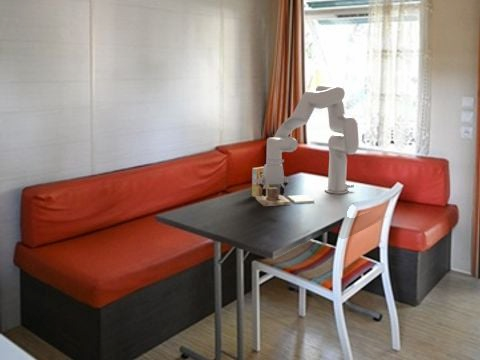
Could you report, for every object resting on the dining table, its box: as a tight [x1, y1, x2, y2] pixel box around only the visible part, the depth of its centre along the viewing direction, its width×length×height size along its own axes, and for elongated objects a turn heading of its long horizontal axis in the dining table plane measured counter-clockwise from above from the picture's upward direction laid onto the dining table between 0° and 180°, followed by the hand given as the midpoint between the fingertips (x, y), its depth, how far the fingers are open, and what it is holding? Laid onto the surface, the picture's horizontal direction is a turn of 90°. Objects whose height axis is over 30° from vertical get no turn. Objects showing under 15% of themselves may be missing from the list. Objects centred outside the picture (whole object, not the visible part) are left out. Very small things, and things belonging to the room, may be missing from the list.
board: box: [287, 194, 315, 205], centre depth 280 cm, size 10×12×1 cm
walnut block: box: [267, 186, 280, 201], centre depth 275 cm, size 4×4×7 cm
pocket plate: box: [255, 194, 292, 207], centre depth 276 cm, size 14×14×2 cm
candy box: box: [251, 166, 270, 198], centre depth 286 cm, size 9×4×15 cm, turn 129°
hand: (272, 195), depth 275 cm, fingers open, 8 cm apart
